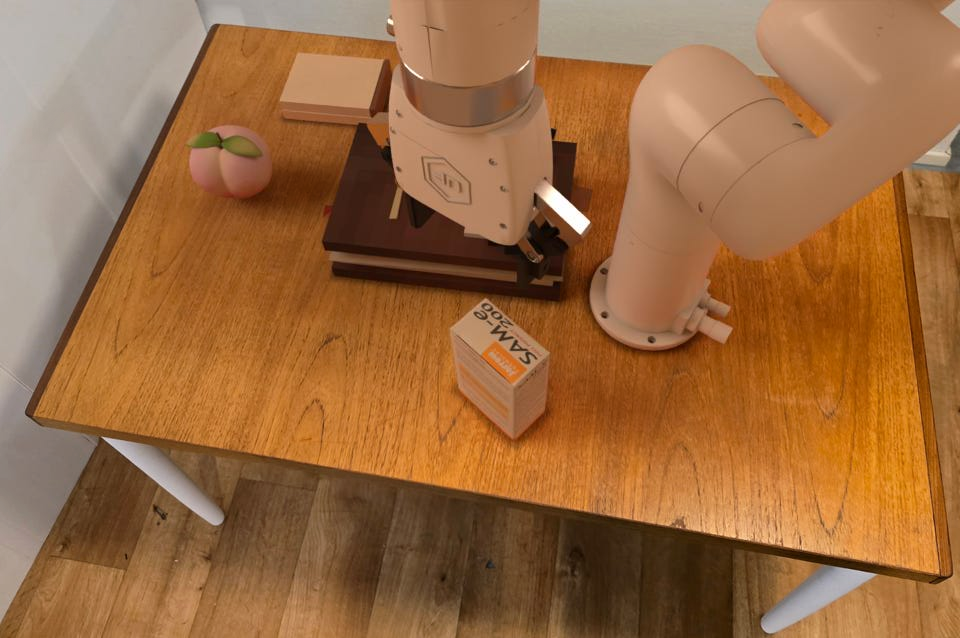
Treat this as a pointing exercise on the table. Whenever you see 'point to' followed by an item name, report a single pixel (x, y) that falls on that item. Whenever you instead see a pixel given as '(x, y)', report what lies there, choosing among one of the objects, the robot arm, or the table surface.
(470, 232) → the decorative book
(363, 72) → the thin cream books
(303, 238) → the table surface
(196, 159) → the decorative fruit
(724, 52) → the robot arm
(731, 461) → the table surface
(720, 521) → the table surface
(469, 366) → the supplement box
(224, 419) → the table surface
